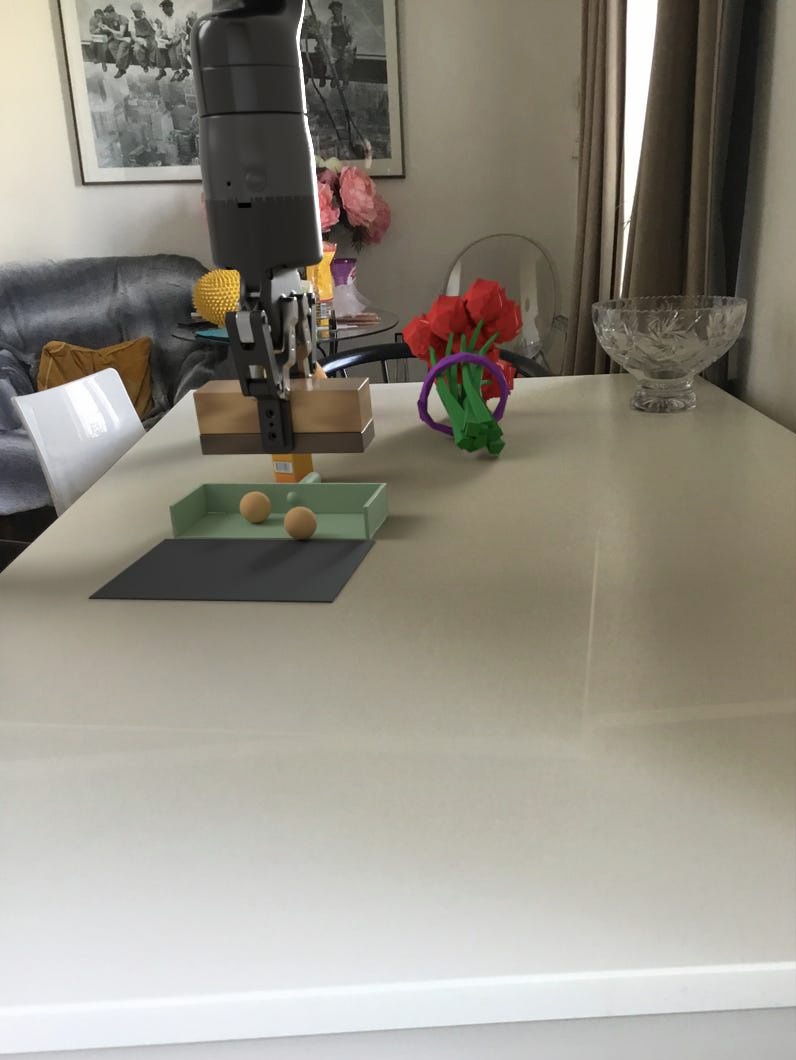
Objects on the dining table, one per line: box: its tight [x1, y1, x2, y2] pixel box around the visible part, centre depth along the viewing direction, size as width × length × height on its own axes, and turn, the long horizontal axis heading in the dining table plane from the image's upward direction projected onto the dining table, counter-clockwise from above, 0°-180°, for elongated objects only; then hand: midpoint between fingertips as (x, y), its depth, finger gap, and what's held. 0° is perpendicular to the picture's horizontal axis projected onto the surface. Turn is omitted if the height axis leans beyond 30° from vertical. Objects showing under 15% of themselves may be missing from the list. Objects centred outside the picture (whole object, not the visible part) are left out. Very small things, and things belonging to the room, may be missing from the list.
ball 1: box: [240, 492, 271, 523], centre depth 102 cm, size 3×3×3 cm
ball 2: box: [284, 507, 317, 540], centre depth 96 cm, size 3×3×3 cm
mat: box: [88, 538, 376, 604], centre depth 90 cm, size 20×16×1 cm
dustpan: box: [168, 471, 389, 540], centre depth 104 cm, size 16×19×3 cm
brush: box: [192, 376, 376, 456], centre depth 76 cm, size 12×4×4 cm, turn 83°
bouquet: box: [401, 277, 524, 456], centre depth 135 cm, size 20×16×30 cm
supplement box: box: [270, 454, 314, 483], centre depth 115 cm, size 3×3×10 cm
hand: (288, 444), depth 77 cm, fingers closed on brush, 4 cm apart
